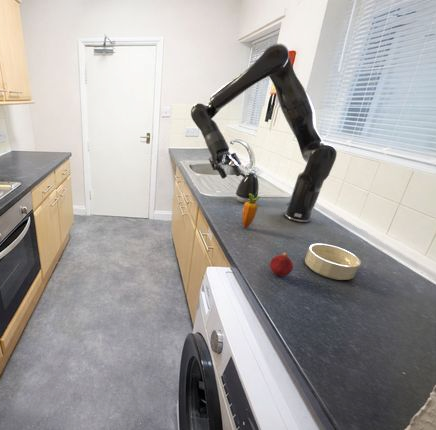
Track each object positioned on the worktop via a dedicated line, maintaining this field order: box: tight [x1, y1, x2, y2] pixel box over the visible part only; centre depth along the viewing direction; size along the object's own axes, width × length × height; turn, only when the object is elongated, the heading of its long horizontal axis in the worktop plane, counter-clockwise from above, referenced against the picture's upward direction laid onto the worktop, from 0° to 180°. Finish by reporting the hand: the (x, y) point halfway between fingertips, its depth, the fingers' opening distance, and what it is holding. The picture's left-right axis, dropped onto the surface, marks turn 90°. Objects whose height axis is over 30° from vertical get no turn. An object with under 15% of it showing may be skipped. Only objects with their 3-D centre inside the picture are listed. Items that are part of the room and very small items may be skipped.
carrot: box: [242, 194, 261, 229], centre depth 106 cm, size 5×5×15 cm
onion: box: [269, 252, 294, 277], centre depth 79 cm, size 6×6×8 cm
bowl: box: [304, 243, 362, 281], centre depth 83 cm, size 13×13×6 cm
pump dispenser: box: [235, 172, 260, 204], centre depth 133 cm, size 10×10×15 cm
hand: (232, 176), depth 110 cm, fingers open, 8 cm apart
